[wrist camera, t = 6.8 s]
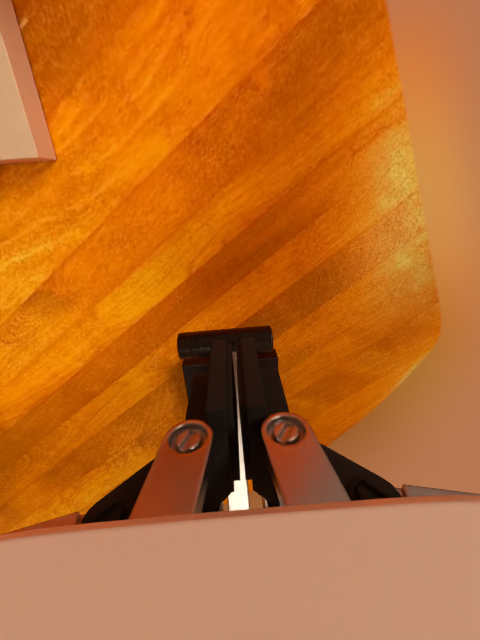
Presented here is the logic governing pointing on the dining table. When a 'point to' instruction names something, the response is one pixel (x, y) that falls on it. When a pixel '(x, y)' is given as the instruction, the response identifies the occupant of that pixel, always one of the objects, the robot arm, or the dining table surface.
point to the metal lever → (200, 347)
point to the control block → (19, 99)
